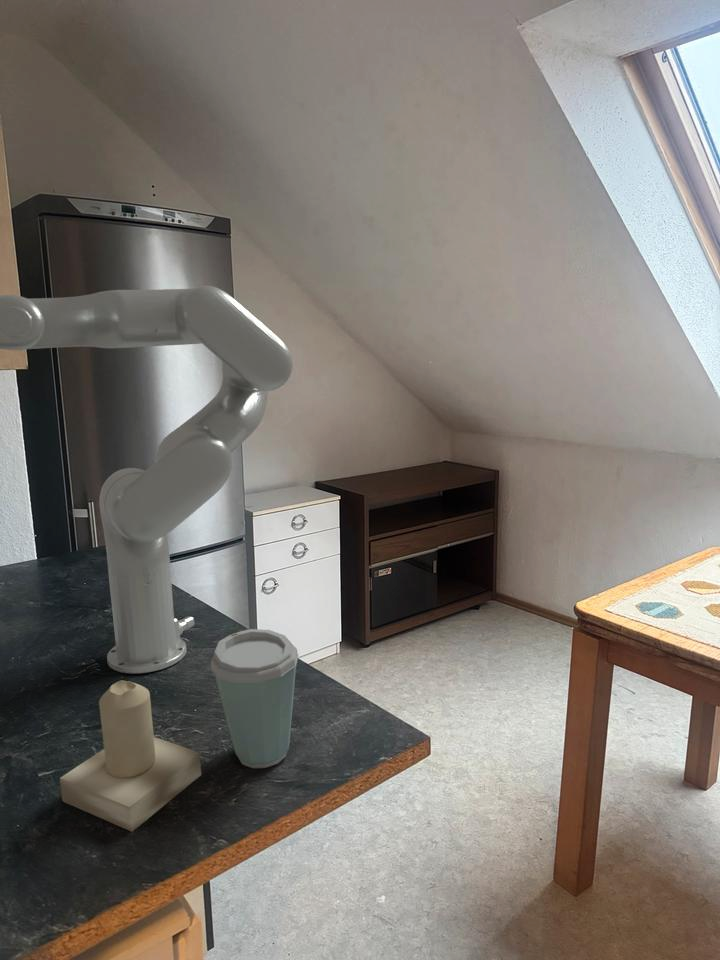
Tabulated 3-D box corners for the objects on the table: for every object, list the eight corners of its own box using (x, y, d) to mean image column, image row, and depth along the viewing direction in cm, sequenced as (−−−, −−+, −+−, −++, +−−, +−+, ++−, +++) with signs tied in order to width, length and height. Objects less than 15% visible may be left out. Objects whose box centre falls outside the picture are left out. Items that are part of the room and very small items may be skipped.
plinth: (135, 750, 89) (133, 729, 88) (201, 774, 84) (199, 752, 83) (62, 801, 79) (59, 778, 79) (132, 831, 74) (129, 807, 74)
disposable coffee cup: (320, 754, 87) (316, 643, 84) (249, 793, 80) (241, 673, 77) (270, 722, 95) (264, 619, 92) (201, 755, 88) (192, 645, 85)
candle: (165, 761, 81) (158, 683, 79) (123, 785, 77) (115, 703, 75) (138, 744, 85) (131, 669, 83) (97, 766, 81) (88, 688, 79)
